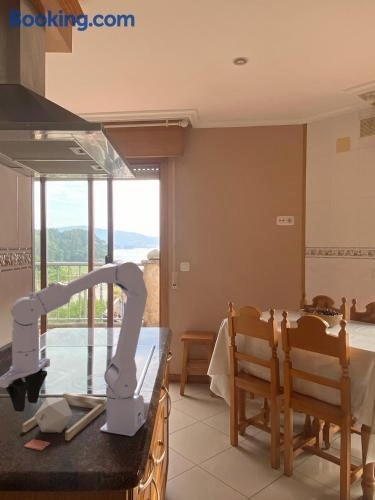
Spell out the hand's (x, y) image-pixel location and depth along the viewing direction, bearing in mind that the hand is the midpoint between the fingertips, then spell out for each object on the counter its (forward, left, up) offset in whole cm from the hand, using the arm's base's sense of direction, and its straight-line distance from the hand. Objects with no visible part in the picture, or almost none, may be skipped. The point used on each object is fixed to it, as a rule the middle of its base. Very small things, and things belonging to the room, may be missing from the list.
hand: (26, 406), depth 83 cm
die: (0, -10, -11) cm, 15 cm away
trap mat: (-1, -3, -10) cm, 11 cm away
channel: (0, -15, -10) cm, 18 cm away
